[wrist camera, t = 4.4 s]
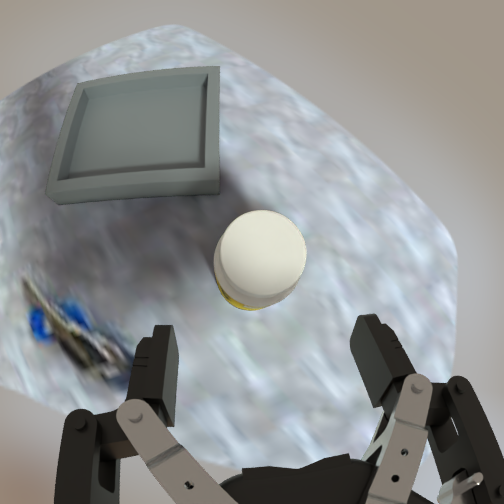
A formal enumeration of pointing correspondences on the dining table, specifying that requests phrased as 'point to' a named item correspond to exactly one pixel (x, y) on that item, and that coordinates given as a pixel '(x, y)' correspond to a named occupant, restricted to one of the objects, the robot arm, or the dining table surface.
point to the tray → (139, 137)
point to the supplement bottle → (259, 259)
